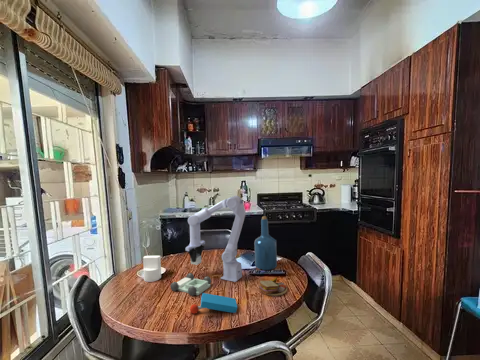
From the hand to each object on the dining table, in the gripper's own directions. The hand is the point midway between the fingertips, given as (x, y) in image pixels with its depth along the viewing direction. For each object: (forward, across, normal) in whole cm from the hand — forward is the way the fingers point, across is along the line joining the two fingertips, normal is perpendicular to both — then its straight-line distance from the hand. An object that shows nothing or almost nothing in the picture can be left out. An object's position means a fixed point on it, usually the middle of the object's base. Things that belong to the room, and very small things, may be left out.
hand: (196, 260), depth 131 cm
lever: (+9, +25, +28) cm, 39 cm away
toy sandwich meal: (+9, 0, +45) cm, 46 cm away
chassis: (+8, +13, +7) cm, 17 cm away
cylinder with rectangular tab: (+9, +13, -20) cm, 26 cm away
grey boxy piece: (+2, 0, 0) cm, 2 cm away
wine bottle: (+9, -27, +31) cm, 42 cm away
